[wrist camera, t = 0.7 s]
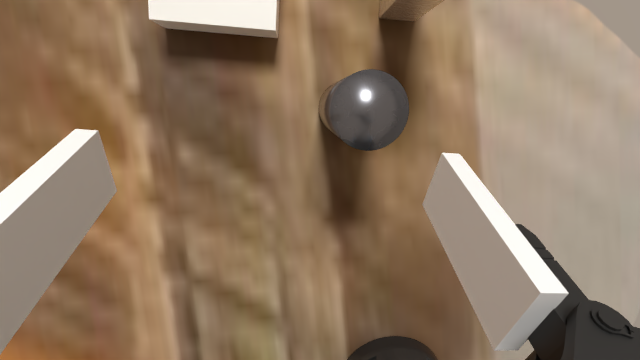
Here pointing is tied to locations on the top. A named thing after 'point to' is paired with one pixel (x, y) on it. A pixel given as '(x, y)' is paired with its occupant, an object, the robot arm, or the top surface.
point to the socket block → (218, 16)
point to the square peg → (406, 9)
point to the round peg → (365, 109)
